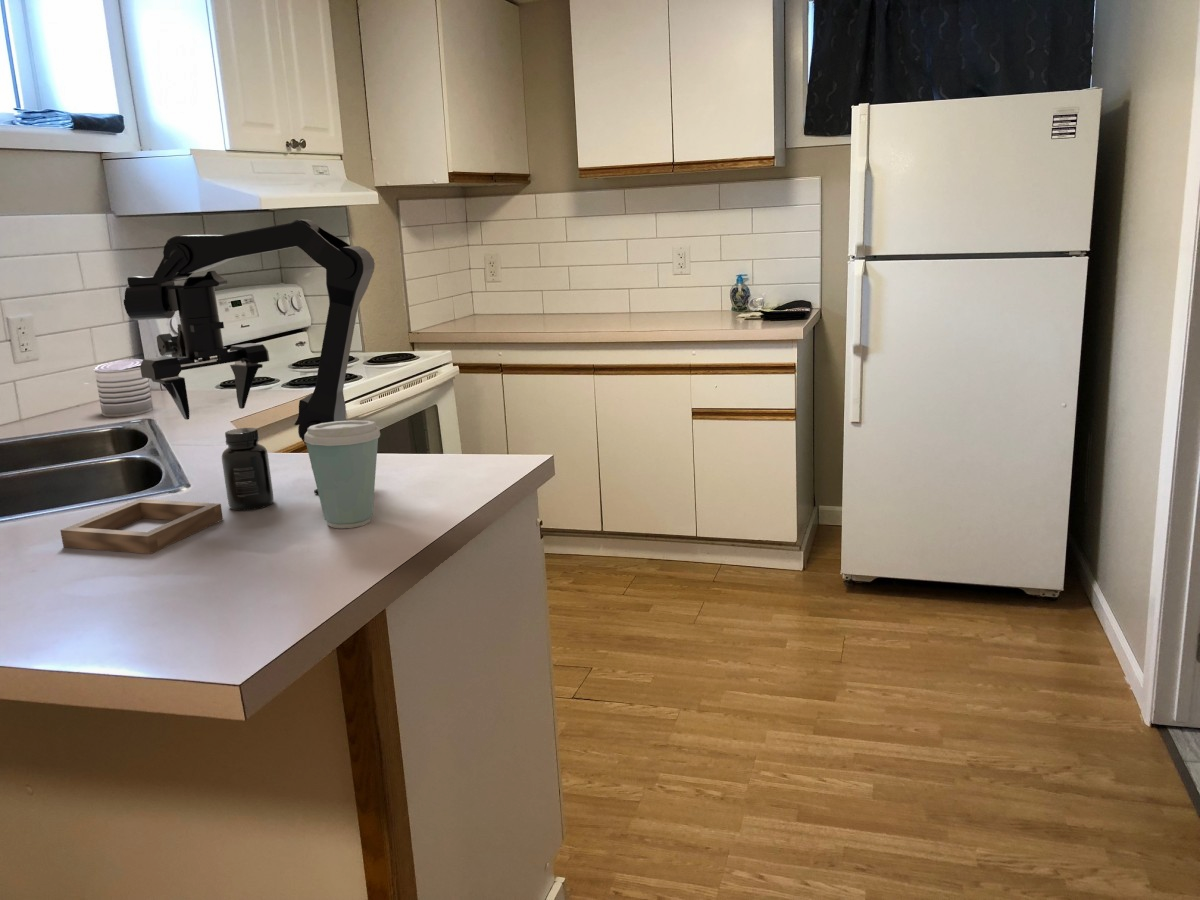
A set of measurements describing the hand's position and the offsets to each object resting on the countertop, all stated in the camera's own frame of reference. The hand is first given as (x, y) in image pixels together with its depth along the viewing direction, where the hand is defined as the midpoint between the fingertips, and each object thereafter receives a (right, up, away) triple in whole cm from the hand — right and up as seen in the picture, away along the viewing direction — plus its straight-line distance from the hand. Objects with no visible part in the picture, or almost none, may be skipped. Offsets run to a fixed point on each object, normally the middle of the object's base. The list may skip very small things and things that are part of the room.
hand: (214, 413), depth 157 cm
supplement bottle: (+7, -15, -4) cm, 17 cm away
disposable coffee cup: (+26, -17, -15) cm, 34 cm away
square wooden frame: (-4, -18, -16) cm, 24 cm away
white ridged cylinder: (-52, +3, +79) cm, 95 cm away
